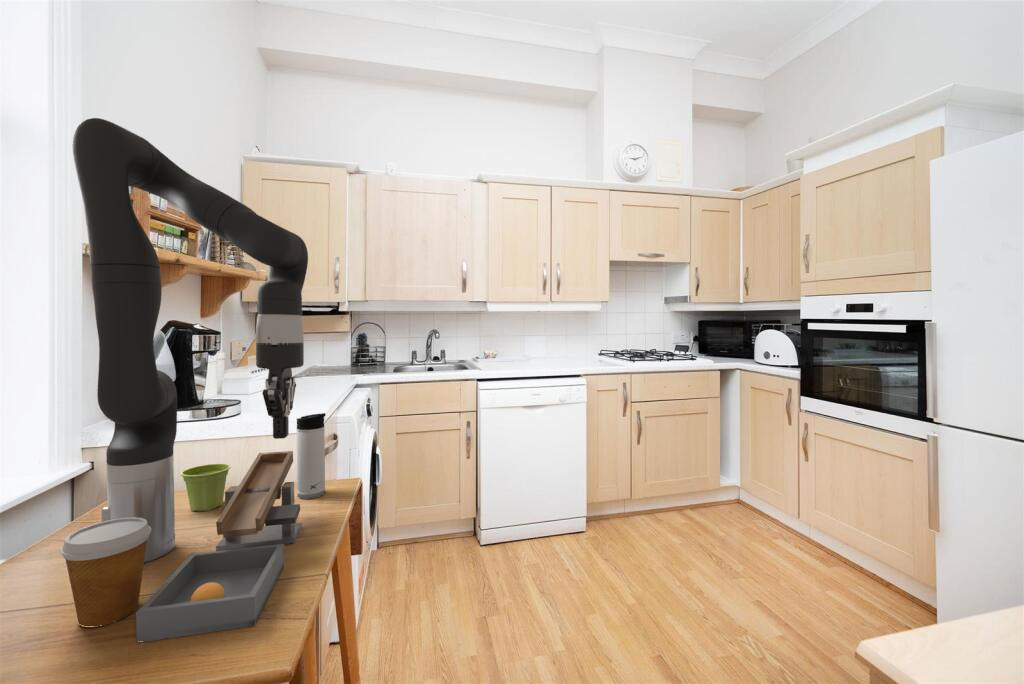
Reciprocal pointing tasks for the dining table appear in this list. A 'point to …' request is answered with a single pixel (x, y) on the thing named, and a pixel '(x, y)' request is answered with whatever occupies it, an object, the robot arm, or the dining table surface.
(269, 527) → the stand
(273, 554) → the bin
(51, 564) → the dining table surface
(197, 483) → the plant pot
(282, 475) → the lever
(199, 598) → the ball
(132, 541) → the disposable coffee cup
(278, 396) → the robot arm
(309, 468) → the travel mug
